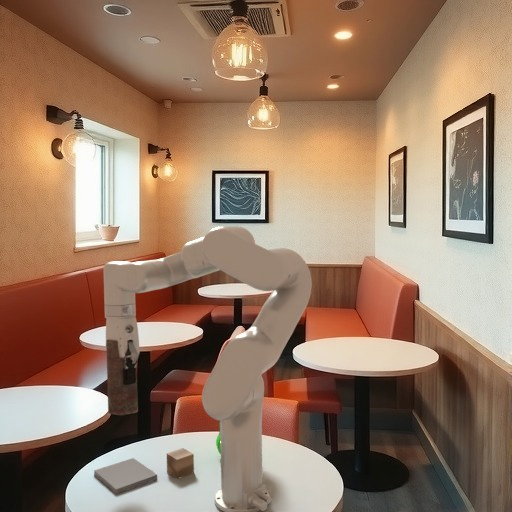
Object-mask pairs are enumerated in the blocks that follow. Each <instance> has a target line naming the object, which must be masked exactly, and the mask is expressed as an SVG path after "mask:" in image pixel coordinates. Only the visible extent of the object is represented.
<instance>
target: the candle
mask: <svg viewBox="0 0 512 512" xmlns="http://www.w3.org/2000/svg"><path fill="white" fill-rule="evenodd" d="M105 348H106V374H107V377H106V378H107V379H106V381H107V382H106V383H107V412H108V414H110V415H115V416H116V415H117V416H125V415H131V414H136V413H138V412H139V403H138V402H139V399H138V398H139V397H138V395H139V394H138V375H137V374H138V373H137V371H136V382H135V383H133V384H129V385H124V384H123V369H124V365H123V359H122V358H120V357H119V351H118V342H117V341H110V340H107V341H106V340H105ZM125 355H126V356H127V355H131V354H130V352H129V350H128V348H127V351H126V353H125ZM129 359H131V358H127V359H126V360H127V362H128V361H129Z"/></svg>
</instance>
